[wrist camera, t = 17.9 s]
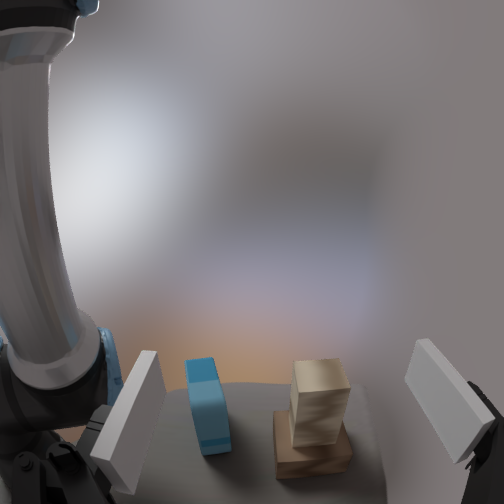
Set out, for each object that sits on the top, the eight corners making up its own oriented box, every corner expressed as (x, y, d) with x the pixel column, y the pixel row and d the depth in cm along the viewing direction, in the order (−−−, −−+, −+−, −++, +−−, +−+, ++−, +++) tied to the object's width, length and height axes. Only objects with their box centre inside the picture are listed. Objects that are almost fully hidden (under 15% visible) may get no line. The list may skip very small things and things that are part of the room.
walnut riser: (276, 479, 31) (277, 462, 30) (272, 430, 41) (273, 411, 39) (345, 471, 31) (353, 453, 29) (333, 425, 40) (337, 406, 39)
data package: (232, 455, 36) (226, 404, 32) (203, 459, 34) (190, 409, 31) (218, 405, 47) (211, 352, 44) (193, 408, 46) (183, 356, 42)
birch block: (292, 447, 32) (298, 392, 29) (288, 417, 38) (293, 361, 35) (335, 443, 32) (350, 387, 29) (328, 414, 38) (338, 358, 35)
